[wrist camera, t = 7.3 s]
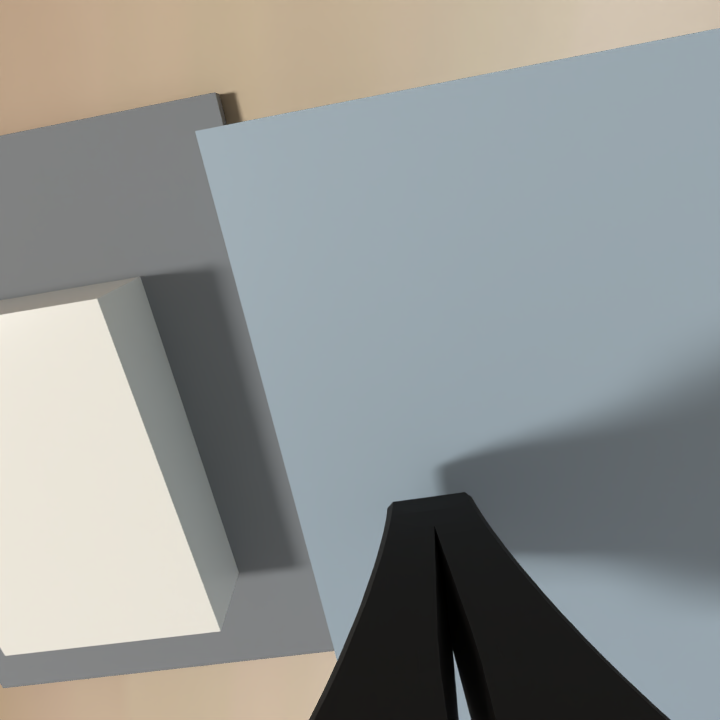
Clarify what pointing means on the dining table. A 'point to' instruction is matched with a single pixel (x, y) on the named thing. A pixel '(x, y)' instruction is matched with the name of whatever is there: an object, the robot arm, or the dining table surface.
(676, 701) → the plate
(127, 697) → the dining table surface
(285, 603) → the mat
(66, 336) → the tile
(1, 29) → the dining table surface
